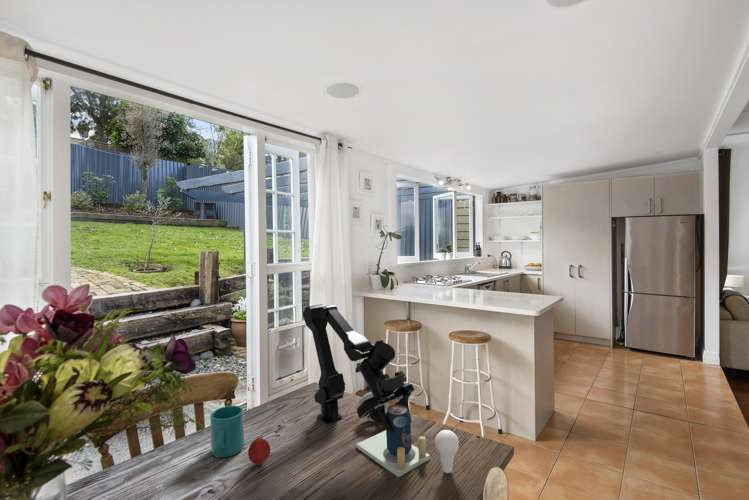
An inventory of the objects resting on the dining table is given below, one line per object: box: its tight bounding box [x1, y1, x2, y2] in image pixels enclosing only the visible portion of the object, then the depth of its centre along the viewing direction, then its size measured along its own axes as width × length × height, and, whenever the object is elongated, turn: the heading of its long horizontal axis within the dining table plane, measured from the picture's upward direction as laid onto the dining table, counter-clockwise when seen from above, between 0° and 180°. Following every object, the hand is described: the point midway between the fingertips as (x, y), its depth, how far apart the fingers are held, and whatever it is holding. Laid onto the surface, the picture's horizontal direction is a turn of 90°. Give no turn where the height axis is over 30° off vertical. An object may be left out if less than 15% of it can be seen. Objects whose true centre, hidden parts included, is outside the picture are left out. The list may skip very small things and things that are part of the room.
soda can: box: [385, 404, 413, 457], centre depth 104 cm, size 7×7×12 cm
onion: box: [247, 435, 271, 466], centre depth 102 cm, size 6×6×8 cm
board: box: [356, 430, 431, 478], centre depth 106 cm, size 18×12×6 cm, turn 39°
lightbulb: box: [434, 429, 460, 474], centre depth 97 cm, size 6×6×11 cm
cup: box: [209, 405, 245, 459], centre depth 108 cm, size 9×12×11 cm
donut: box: [358, 391, 389, 422], centre depth 125 cm, size 10×4×10 cm, turn 93°
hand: (402, 427), depth 103 cm, fingers closed on soda can, 7 cm apart
